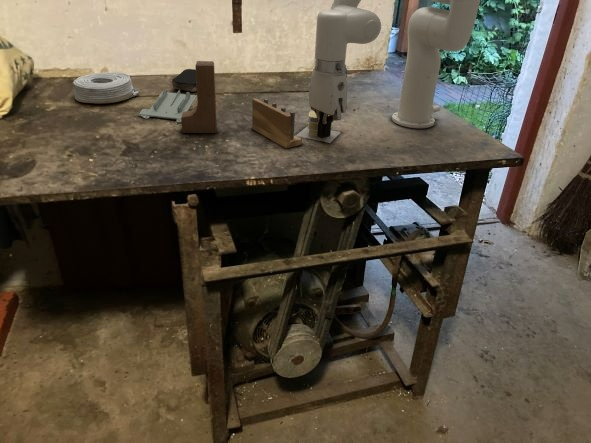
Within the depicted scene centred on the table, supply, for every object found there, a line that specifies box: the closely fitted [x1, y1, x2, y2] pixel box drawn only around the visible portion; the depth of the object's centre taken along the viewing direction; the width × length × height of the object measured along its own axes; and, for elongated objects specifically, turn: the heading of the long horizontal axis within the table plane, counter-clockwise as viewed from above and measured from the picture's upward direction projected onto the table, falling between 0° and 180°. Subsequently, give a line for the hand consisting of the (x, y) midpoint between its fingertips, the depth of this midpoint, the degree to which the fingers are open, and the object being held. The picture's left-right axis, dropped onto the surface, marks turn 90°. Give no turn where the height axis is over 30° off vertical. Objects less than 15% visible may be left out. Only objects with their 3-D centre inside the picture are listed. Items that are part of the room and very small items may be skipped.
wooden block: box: [180, 60, 218, 134], centre depth 126 cm, size 9×4×18 cm, turn 96°
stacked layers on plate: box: [295, 110, 341, 144], centre depth 131 cm, size 10×9×6 cm
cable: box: [72, 71, 140, 104], centre depth 149 cm, size 18×18×6 cm
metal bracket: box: [138, 89, 197, 123], centre depth 141 cm, size 14×6×15 cm
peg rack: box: [251, 97, 303, 149], centre depth 127 cm, size 5×16×8 cm, turn 37°
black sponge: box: [171, 68, 197, 93], centre depth 165 cm, size 16×8×4 cm, turn 172°
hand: (323, 136), depth 127 cm, fingers closed
